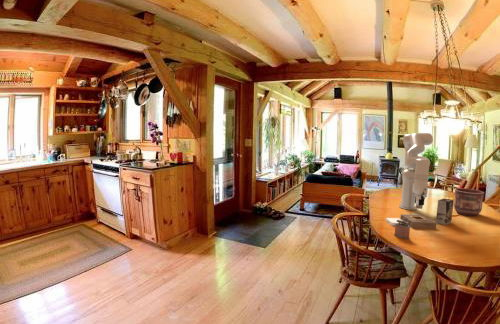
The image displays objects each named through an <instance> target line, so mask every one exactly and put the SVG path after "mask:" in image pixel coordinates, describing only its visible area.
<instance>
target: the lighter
mask: <svg viewBox="0 0 500 324" xmlns="http://www.w3.org/2000/svg"><path fill="white" fill-rule="evenodd" d="M397 222H399V223H395V226H394V237H397V238H399V239H404V238H405V239H406V240H410V230H411V227H410V226H409V225H408V222H405V221H401V220H397ZM400 223H401V224H400ZM405 239H404V240H405Z"/></svg>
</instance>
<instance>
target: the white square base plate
mask: <svg viewBox="0 0 500 324" xmlns="http://www.w3.org/2000/svg"><path fill="white" fill-rule="evenodd" d="M397 220H401V219H400V218H399V217H385V222H386V223H387V224H389V225H390V226H392V227H395V223H399V222H397ZM401 221H402V220H401ZM400 224H401V223H400Z"/></svg>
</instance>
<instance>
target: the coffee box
mask: <svg viewBox="0 0 500 324" xmlns="http://www.w3.org/2000/svg"><path fill="white" fill-rule="evenodd" d="M454 202H455V199H448V198H441V199H440V198H439V199H438V200H437V208H436V217H435V218H436V219H435V222H436V223H437V224H440V225H444V226H447V225H449V224H451V223H452V221H453V220H452V219H453V212H454V211H453V210H454V209H453V208H454Z"/></svg>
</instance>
